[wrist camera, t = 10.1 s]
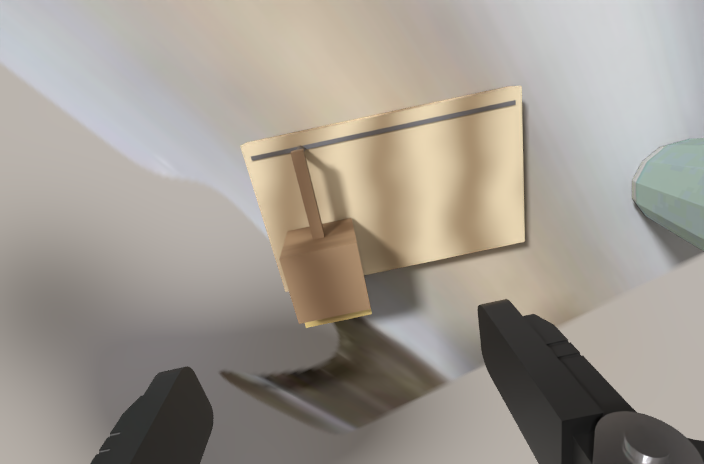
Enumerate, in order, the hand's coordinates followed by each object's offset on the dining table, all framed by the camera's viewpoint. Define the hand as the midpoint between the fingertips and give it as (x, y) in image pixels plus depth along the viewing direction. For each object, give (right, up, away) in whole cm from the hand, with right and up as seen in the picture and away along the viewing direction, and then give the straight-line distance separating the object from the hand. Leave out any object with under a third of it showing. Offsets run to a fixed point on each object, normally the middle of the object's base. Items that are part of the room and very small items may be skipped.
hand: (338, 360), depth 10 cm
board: (+3, +7, +19) cm, 20 cm away
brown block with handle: (-2, +4, +19) cm, 19 cm away
